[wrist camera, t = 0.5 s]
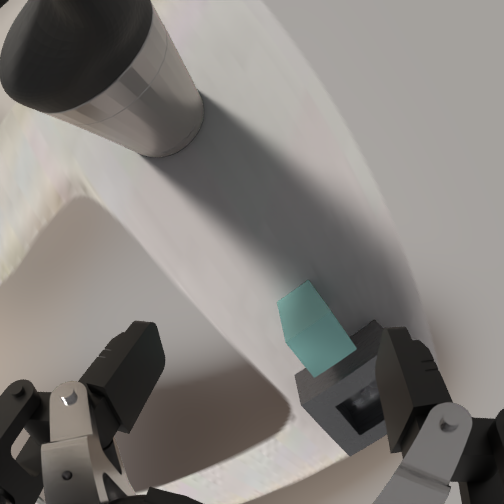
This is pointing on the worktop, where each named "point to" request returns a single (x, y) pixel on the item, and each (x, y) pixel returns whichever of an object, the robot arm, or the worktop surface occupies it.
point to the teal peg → (313, 330)
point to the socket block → (348, 394)
